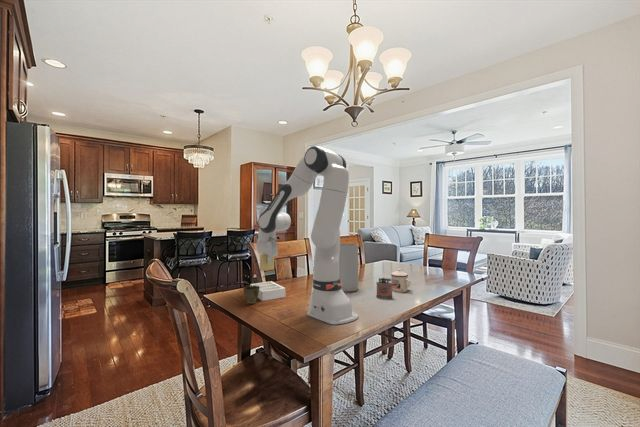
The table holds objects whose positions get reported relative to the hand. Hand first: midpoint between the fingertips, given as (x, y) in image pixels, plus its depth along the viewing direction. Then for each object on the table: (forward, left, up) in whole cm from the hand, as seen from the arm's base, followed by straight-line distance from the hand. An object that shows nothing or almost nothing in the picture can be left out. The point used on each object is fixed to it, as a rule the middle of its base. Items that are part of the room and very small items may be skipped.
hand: (267, 262), depth 152 cm
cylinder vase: (-14, -42, -17) cm, 47 cm away
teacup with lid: (-33, -65, -17) cm, 75 cm away
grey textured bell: (-10, +12, -17) cm, 23 cm away
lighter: (-37, -48, -17) cm, 63 cm away
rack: (0, 0, -17) cm, 17 cm away
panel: (0, 0, -4) cm, 4 cm away
